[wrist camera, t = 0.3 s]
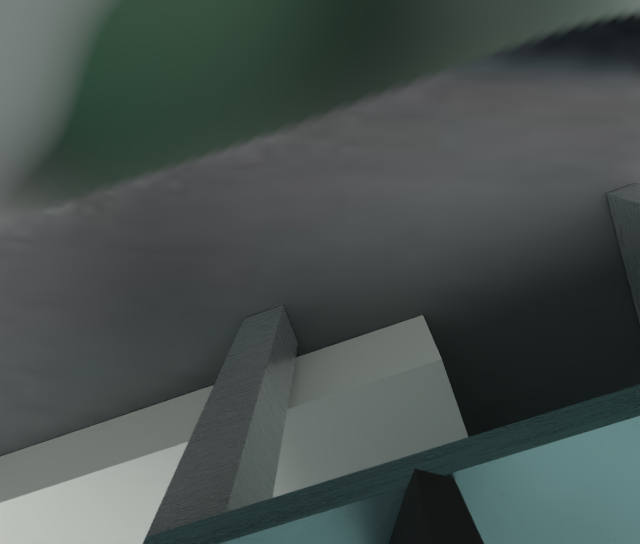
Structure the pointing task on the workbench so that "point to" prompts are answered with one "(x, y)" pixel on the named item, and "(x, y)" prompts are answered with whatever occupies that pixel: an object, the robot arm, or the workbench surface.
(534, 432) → the teal topped shelf
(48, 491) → the socket block
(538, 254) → the workbench surface
